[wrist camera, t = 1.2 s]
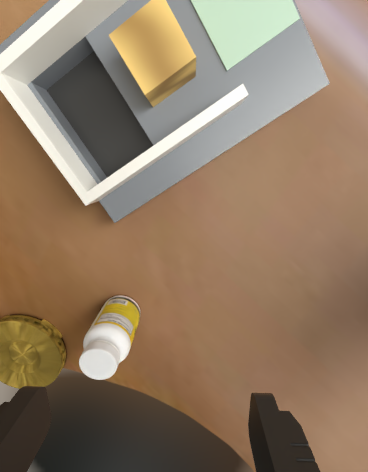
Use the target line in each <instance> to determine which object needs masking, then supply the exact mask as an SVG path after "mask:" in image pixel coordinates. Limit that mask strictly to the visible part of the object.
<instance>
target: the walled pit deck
mask: <svg viewBox="0 0 368 472" xmlns="http://www.w3.org/2000/svg"><path fill="white" fill-rule="evenodd" d="M149 1H151V0H49V1H48V2H47V3H46V4H45V5H43V6H42V7H41V8H40V9H39V10H38V11H37V12H36V13H35V14H34V15H32V16H31V17H30V18H29V19H28V20H27V21H26V22H25V23H24V24H22V25H21V26H20V27H19V28H18V29H17V30H16V31H15V32H14V33H13V34H11V35H10V36H9V37H8V38H7V39H6V40H5V41H4V42H3V43H1V44H0V90H1V92H2V93H3V94H4V96H5V97H6V98H7V100H8V101H9V102H10V104H11V105H12V107H13V108H14V109H15V111H16V112H17V113H18V115H19V116H20V117H21V119H22V120H23V121H24V123H25V124H26V126H27V127H28V128H29V130H30V131H31V132H32V134H33V135H34V136H35V138H36V139H37V140H38V142H39V143H40V144H41V146H42V147H43V149H44V150H45V151H46V153H47V154H48V155H49V157H50V158H51V159H52V161H53V162H54V163H55V165H56V166H57V168H58V169H59V170H60V172H61V173H62V174H63V176H64V177H65V178H66V180H67V181H68V182H69V184H70V185H71V186H72V188H73V189H74V191H75V192H76V193H77V195H78V196H79V197H80V199H81V200H82V201H83V203H84V204H85V205H86V206H87V205H89V204H92V203H94V202H97V201H99V202H100V203H101V205H102V206H103V207H104V209H105V210H106V211H107V213H108V214H109V216H110V217H111V218H112V220H113V221H114V223H115V222H117V221H119V220H120V219H122V218H123V217H125V216H126V215H128V214H129V213H131V212H132V211H134V210H136V209H137V208H139V207H140V206H142V205H143V204H145V203H146V202H148V201H149V200H151V199H152V198H154V197H156V196H157V195H159V194H160V193H162V192H163V191H165V190H166V189H168V188H169V187H171V186H172V185H174V184H176V183H177V182H179V181H180V180H182V179H183V178H185V177H186V176H188V175H189V174H191V173H193V172H194V171H196V170H197V169H199V168H200V167H202V166H203V165H205V164H206V163H208V162H209V161H211V160H213V159H214V158H216V157H217V156H219V155H220V154H222V153H223V152H225V151H226V150H228V149H230V148H231V147H233V146H234V145H236V144H237V143H239V142H240V141H242V140H243V139H245V138H246V137H248V136H250V135H251V134H253V133H254V132H256V131H257V130H259V129H260V128H262V127H263V126H265V125H266V124H268V123H270V122H271V121H273V120H274V119H276V118H277V117H279V116H280V115H282V114H283V113H285V112H287V111H288V110H290V109H291V108H293V107H294V106H296V105H297V104H299V103H300V102H302V101H303V100H305V99H307V98H308V97H310V96H311V95H313V94H314V93H316V92H317V91H319V90H320V89H322V88H324V87H325V86H327V85H328V84H330V83H329V81H328V78H327V76H326V74H325V71H324V69H323V67H322V64H321V62H320V60H319V57H318V55H317V52H316V50H315V48H314V45H313V43H312V41H311V38H310V36H309V34H308V31H307V29H306V27H305V24H304V22H303V20H302V17H301V15H300V12H299V10H298V8H297V5H296V3H295V1H294V0H166V1H167V3H168V5H169V7H170V9H171V11H172V13H173V14H174V16H175V18H176V20H177V22H178V24H179V26H180V27H181V29H182V31H183V33H184V35H185V37H186V39H187V40H188V42H189V44H190V46H191V48H192V50H193V52H194V54H195V55H196V77H194V78H193V79H192V80H190V81H189V82H187V83H186V84H185V85H183V86H182V87H181V88H179V89H178V90H176V91H175V92H174V93H172V94H171V95H170V96H168V97H167V98H165V99H164V100H163V101H161V102H160V103H159V104H157V105H156V106H154V107H153V106H152V105H151V103H150V102H149V100H148V99H147V98H146V96H145V95H144V93H143V91H142V90H141V88H140V86H139V85H138V83H137V81H136V80H135V78H134V76H133V75H132V73H131V71H130V70H129V68H128V66H127V65H126V63H125V61H124V60H123V58H122V57H121V55H120V53H119V52H118V50H117V48H116V47H115V45H114V43H113V42H112V40H111V38H110V37H109V34H111V33H112V32H113V31H114V30H115V29H117V28H118V27H119V26H120V25H121V24H123V23H124V22H125V21H126V20H127V19H129V18H130V17H131V16H132V15H134V14H135V13H136V12H137V11H138V10H140V9H141V8H142V7H143V6H144V5H146V4H147V3H148V2H149Z"/></svg>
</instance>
